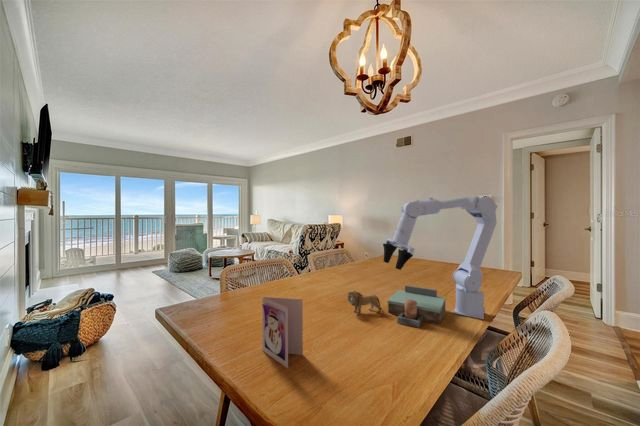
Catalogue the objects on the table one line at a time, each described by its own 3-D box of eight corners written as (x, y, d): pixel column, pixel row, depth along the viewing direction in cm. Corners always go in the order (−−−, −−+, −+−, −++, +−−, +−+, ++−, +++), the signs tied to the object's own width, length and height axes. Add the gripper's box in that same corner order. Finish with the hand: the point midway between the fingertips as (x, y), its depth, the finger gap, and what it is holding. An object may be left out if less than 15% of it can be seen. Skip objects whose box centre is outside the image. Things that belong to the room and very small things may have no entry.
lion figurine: (350, 317, 94) (350, 293, 94) (344, 312, 99) (344, 288, 99) (385, 312, 98) (385, 289, 98) (378, 307, 103) (378, 285, 103)
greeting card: (260, 351, 71) (259, 297, 71) (282, 342, 76) (281, 291, 76) (285, 370, 63) (284, 308, 63) (307, 357, 68) (307, 301, 68)
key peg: (417, 320, 91) (417, 301, 91) (415, 325, 88) (415, 304, 88) (406, 318, 93) (406, 298, 93) (403, 322, 90) (403, 302, 90)
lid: (445, 300, 100) (445, 291, 100) (439, 313, 87) (439, 302, 87) (398, 292, 110) (398, 283, 110) (387, 302, 97) (387, 293, 97)
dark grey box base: (445, 310, 100) (445, 300, 100) (437, 332, 83) (437, 319, 82) (398, 301, 110) (398, 292, 110) (382, 319, 92) (382, 308, 92)
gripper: (384, 225, 104) (373, 257, 104) (408, 233, 90) (395, 270, 91) (397, 230, 106) (386, 261, 107) (423, 238, 93) (410, 274, 93)
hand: (391, 265), depth 99 cm, fingers open, 7 cm apart
